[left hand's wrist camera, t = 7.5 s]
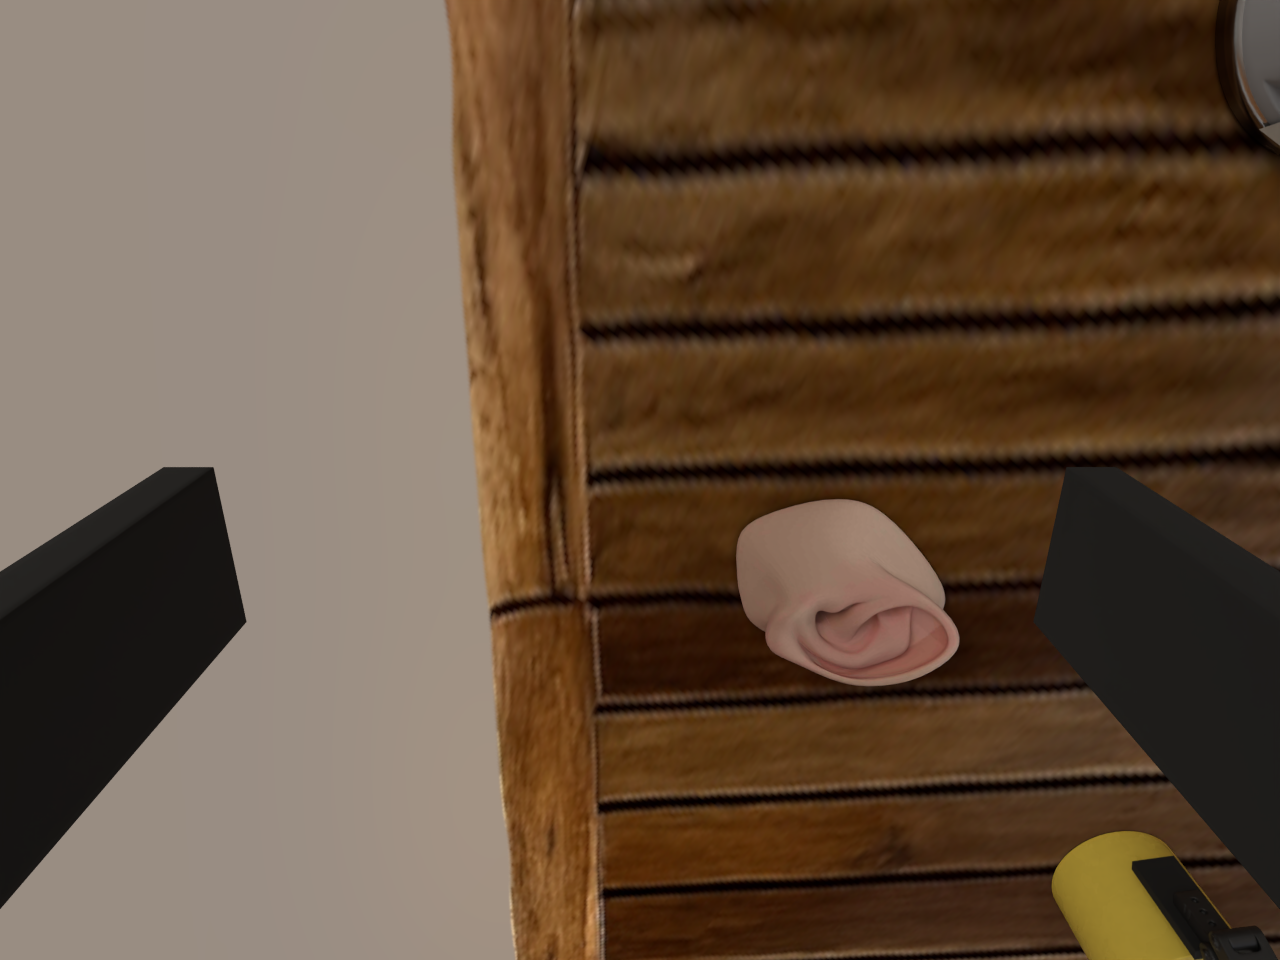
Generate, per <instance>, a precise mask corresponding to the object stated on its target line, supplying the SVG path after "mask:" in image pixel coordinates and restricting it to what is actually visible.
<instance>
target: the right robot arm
mask: <svg viewBox="0 0 1280 960" xmlns="http://www.w3.org/2000/svg"><path fill="white" fill-rule="evenodd" d="M1132 871H1133V872H1134V874H1135V875H1136V876H1137V878H1138V879H1139V881H1140V882H1141V884H1142V885H1143V886H1144V888H1145V889H1146V891H1147V892H1148V894H1149V895H1150V897H1151V898H1152V899H1153V901H1154V902H1155V904H1156V905H1157V907H1158V908H1159V909H1160V911H1161V912H1162V914H1163V915H1164V917H1165V918H1166V920H1167V921H1168V922H1169V924H1170V925H1171V927H1172V928H1173V930H1174V931H1175V932H1176V934H1177V935H1178V937H1179V938H1180V940H1181V941H1182V942H1183V944H1184V945H1185V947H1186V948H1187V950H1188V951H1189V953H1190V954H1191V955H1192V957H1193V958H1194V960H1197V959H1203V960H1278V959H1277V957H1276V955H1275V954H1274V952H1273V950H1272V948H1271V947H1270V945H1269V943H1268V941H1267V939H1266V938H1265V936H1264V934H1263V933H1262V931H1261V930H1260V929H1259V928H1258V927H1257V926H1249V927H1239V928H1232V929H1230V928H1229V927H1228V925H1227V924H1226V923H1225V921H1224V920H1223V919H1222V917H1221V916H1220V915H1219V914H1218V912H1217V911H1216V910H1215V908H1214V907H1213V906H1212V904H1211V903H1210V902H1209V901H1208V899H1207V898H1206V897H1205V895H1204V894H1203V893H1202V892H1201V890H1200V889H1199V888H1198V886H1197V885H1196V884H1195V882H1194V881H1193V880H1192V879H1191V877H1190V876H1189V875H1188V873H1187V872H1186V871H1185V869H1184V868H1183V867H1182V866H1181V864H1180V863H1179V862H1178V860H1177V859H1176V858H1175V856H1174V855H1173V856H1166V857H1159V858H1152V859H1144V860H1137V861H1132Z"/></svg>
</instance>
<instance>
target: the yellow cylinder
mask: <svg viewBox="0 0 1280 960" xmlns="http://www.w3.org/2000/svg"><path fill="white" fill-rule="evenodd" d="M1173 855H1174V856H1175V858H1176V859H1177V860H1178V862H1179V863H1180V864H1181V866H1182V867H1183V868H1184V869H1185V871H1186V872H1187V873H1188V875H1189V876H1190V877H1191V879H1192V880H1193V881H1194V882H1195V884H1196V885H1197V886H1198V888H1199V889H1200V890H1201V892H1202V893H1203V894H1204V895H1205V897H1206V898H1207V899H1208V901H1209V902H1210V903H1211V904H1212V906H1213V907H1214V908H1215V910H1216V911H1217V912H1218V914H1219V915H1220V916H1221V917H1222V919H1223V920H1224V921H1225V923H1226V924H1227V925H1228V927H1229V928H1230V929H1232V928H1231V927H1230V925H1229V924H1228V923H1227V921H1226V920H1225V919H1224V917H1223V916H1222V915H1221V914H1220V912H1219V911H1218V910H1217V908H1216V907H1215V906H1214V905H1213V903H1212V902H1211V901H1210V899H1209V898H1208V897H1207V895H1206V894H1205V893H1204V892H1203V890H1202V889H1201V888H1200V886H1199V885H1198V884H1197V883H1196V881H1195V880H1194V879H1193V877H1192V876H1191V875H1190V873H1189V872H1188V871H1187V870H1186V868H1185V867H1184V866H1183V864H1182V863H1181V862H1180V861H1179V859H1178V858H1177V857H1176V855H1175V854H1174V853H1173V851H1172V850H1171V849H1170V848H1169V847H1168V846H1167V845H1166V844H1165V843H1164V842H1163V841H1161V840H1160V839H1158V838H1156V837H1154V836H1152V835H1149V834H1146V833H1142V832H1135V831H1119V832H1111V833H1106V834H1103V835H1099V836H1097V837H1094V838H1091V839H1089V840H1087V841H1085V842H1083V843H1082V844H1080V845H1078V846H1077V847H1075V848H1074V849H1073V850H1071V851H1070V852H1069V853H1068V854H1067V855H1066V856H1065V857H1064V858H1063V859H1062V861H1061V862H1060V863H1059V865H1058V866H1057V868H1056V870H1055V872H1054V875H1053V879H1052V893H1053V896H1054V899H1055V901H1056V903H1057V904H1058V906H1059V908H1060V910H1061V912H1062V913H1063V915H1064V917H1065V919H1066V920H1067V922H1068V924H1069V926H1070V928H1071V929H1072V931H1073V933H1074V935H1075V936H1076V938H1077V940H1078V942H1079V944H1080V945H1081V947H1082V949H1083V951H1084V952H1085V954H1086V956H1087V958H1088V960H1194V958H1193V957H1192V955H1191V954H1190V953H1189V951H1188V950H1187V948H1186V947H1185V945H1184V944H1183V942H1182V941H1181V940H1180V938H1179V937H1178V935H1177V934H1176V932H1175V931H1174V930H1173V928H1172V927H1171V925H1170V924H1169V922H1168V921H1167V920H1166V918H1165V917H1164V915H1163V914H1162V912H1161V911H1160V909H1159V908H1158V907H1157V905H1156V904H1155V902H1154V901H1153V899H1152V898H1151V897H1150V895H1149V894H1148V892H1147V891H1146V889H1145V888H1144V886H1143V885H1142V884H1141V882H1140V881H1139V879H1138V878H1137V876H1136V875H1135V874H1134V872H1133V871H1132V861H1137V860H1144V859H1152V858H1159V857H1166V856H1173ZM1197 960H1203V959H1197Z"/></svg>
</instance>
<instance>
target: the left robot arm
mask: <svg viewBox="0 0 1280 960" xmlns="http://www.w3.org/2000/svg"><path fill="white" fill-rule="evenodd" d="M1215 48H1216V62H1217V68H1218V73H1219V78H1220V82H1221V85H1222V89H1223V92H1224V94H1225V97H1226V99H1227V102H1228V104H1229V106H1230V108H1231V110H1232V111H1233V113H1234V115H1235V117H1236V118H1237V120H1238V121H1239V122H1240V124H1241V125H1242V126H1243V128H1244V129H1245V130H1246V131H1247V132H1248V133H1249V134H1250V135H1251V136H1252V137H1253V138H1254V139H1255V140H1256V141H1258V142H1259V143H1260V144H1261V145H1263V146H1264V147H1266V148H1267V149H1269V150H1271V151H1272V152H1274V153H1276V154H1278V155H1280V0H1220V2H1219V7H1218V13H1217V21H1216V37H1215ZM245 623H246V618H245V613H244V608H243V603H242V599H241V594H240V590H239V585H238V580H237V575H236V571H235V566H234V561H233V557H232V552H231V547H230V543H229V538H228V533H227V528H226V524H225V519H224V514H223V510H222V505H221V500H220V496H219V491H218V486H217V482H216V477H215V472H214V468H213V467H163V468H162V469H160V470H159V471H157V472H156V473H154V474H152V475H151V476H149V477H148V478H146V479H145V480H143V481H141V482H140V483H138V484H137V485H135V486H134V487H132V488H131V489H129V490H127V491H126V492H124V493H123V494H121V495H120V496H118V497H117V498H115V499H113V500H112V501H110V502H109V503H107V504H106V505H104V506H103V507H101V508H99V509H98V510H96V511H95V512H93V513H91V514H90V515H88V516H87V517H85V518H84V519H82V520H80V521H79V522H77V523H76V524H74V525H73V526H71V527H70V528H68V529H66V530H65V531H63V532H62V533H60V534H59V535H57V536H55V537H54V538H52V539H51V540H49V541H48V542H46V543H45V544H43V545H41V546H40V547H38V548H37V549H35V550H34V551H32V552H30V553H29V554H27V555H26V556H24V557H23V558H21V559H19V560H18V561H16V562H15V563H13V564H12V565H10V566H9V567H7V568H5V569H4V570H2V571H1V572H0V909H1V907H2V906H3V905H4V904H5V903H6V902H7V900H8V899H9V898H10V897H11V896H12V895H13V893H14V892H15V891H16V890H17V889H18V888H19V886H20V885H21V884H22V883H23V882H24V881H25V879H26V878H27V877H28V876H29V875H30V874H31V872H32V871H33V870H34V869H35V868H36V867H37V866H38V864H39V863H40V862H41V861H42V860H43V858H44V857H45V856H46V855H47V854H48V853H49V852H50V850H51V849H52V848H53V847H54V846H55V845H56V843H57V842H58V841H59V840H60V839H61V837H62V836H63V835H64V834H65V833H66V832H67V831H68V829H69V828H70V827H71V826H72V825H73V824H74V822H75V821H76V820H77V819H78V818H79V816H80V815H81V814H82V813H83V812H84V811H85V809H86V808H87V807H88V806H89V805H90V804H91V803H92V801H93V800H94V799H95V798H96V797H97V796H98V794H99V793H100V792H101V791H102V790H103V789H104V787H105V786H106V785H107V784H108V783H109V782H110V780H111V779H112V778H113V777H114V776H115V774H116V773H117V772H118V771H119V770H120V769H121V768H122V766H123V765H124V764H125V763H126V762H127V761H128V759H129V758H130V757H131V756H132V755H133V754H134V752H135V751H136V750H137V749H138V748H139V747H140V745H141V744H142V743H143V742H144V741H145V740H146V738H147V737H148V736H149V735H150V734H151V732H152V731H153V730H154V729H155V728H156V727H157V726H158V724H159V723H160V722H161V721H162V720H163V719H164V717H165V716H166V715H167V714H168V713H169V712H170V710H171V709H172V708H173V707H174V706H175V705H176V703H177V702H178V701H179V700H180V699H181V698H182V696H183V695H184V694H185V693H186V692H187V691H188V689H189V688H190V687H191V686H192V685H193V684H194V682H195V681H196V680H197V679H198V678H199V677H200V675H201V674H202V673H203V672H204V671H205V670H206V668H207V667H208V666H209V665H210V664H211V663H212V661H213V660H214V659H215V658H216V657H217V655H218V654H219V653H220V652H221V651H222V650H223V649H224V647H225V646H226V645H227V644H228V643H229V642H230V640H231V639H232V638H233V637H234V636H235V635H236V633H237V632H238V631H239V630H240V629H241V628H242V626H243V625H244V624H245ZM1034 623H1035V624H1036V625H1037V626H1038V628H1039V629H1040V630H1041V631H1042V632H1043V633H1044V635H1045V636H1046V637H1047V638H1048V639H1049V640H1050V642H1051V643H1052V644H1053V645H1054V646H1055V647H1056V649H1057V650H1058V651H1059V652H1060V653H1061V654H1062V656H1063V657H1064V658H1065V659H1066V660H1067V661H1068V663H1069V664H1070V665H1071V666H1072V667H1073V668H1074V670H1075V671H1076V672H1077V673H1078V674H1079V675H1080V677H1081V678H1082V679H1083V680H1084V681H1085V682H1086V684H1087V685H1088V686H1089V687H1090V688H1091V689H1092V691H1093V692H1094V693H1095V694H1096V695H1097V696H1098V698H1099V699H1100V700H1101V701H1102V702H1103V703H1104V705H1105V706H1106V707H1107V708H1108V709H1109V710H1110V712H1111V713H1112V714H1113V715H1114V716H1115V717H1116V719H1117V720H1118V721H1119V722H1120V723H1121V724H1122V726H1123V727H1124V728H1125V729H1126V730H1127V731H1128V733H1129V734H1130V735H1131V736H1132V737H1133V738H1134V740H1135V741H1136V742H1137V743H1138V744H1139V745H1140V747H1141V748H1142V749H1143V750H1144V751H1145V752H1146V754H1147V755H1148V756H1149V757H1150V758H1151V759H1152V761H1153V762H1154V763H1155V764H1156V765H1157V766H1158V768H1159V769H1160V770H1161V771H1162V772H1163V773H1164V775H1165V776H1166V777H1167V778H1168V779H1169V780H1170V782H1171V783H1172V784H1173V785H1174V786H1175V787H1176V789H1177V790H1178V791H1179V792H1180V793H1181V794H1182V796H1183V797H1184V798H1185V799H1186V800H1187V801H1188V803H1189V804H1190V805H1191V806H1192V807H1193V808H1194V810H1195V811H1196V812H1197V813H1198V814H1199V815H1200V817H1201V818H1202V819H1203V820H1204V821H1205V822H1206V824H1207V825H1208V826H1209V827H1210V828H1211V829H1212V831H1213V832H1214V833H1215V834H1216V835H1217V836H1218V838H1219V839H1220V840H1221V841H1222V842H1223V843H1224V845H1225V846H1226V847H1227V848H1228V849H1229V850H1230V852H1231V853H1232V854H1233V855H1234V856H1235V857H1236V859H1237V860H1238V861H1239V862H1240V863H1241V864H1242V866H1243V867H1244V868H1245V869H1246V870H1247V871H1248V873H1249V874H1250V875H1251V876H1252V877H1253V878H1254V879H1255V881H1256V882H1257V883H1258V884H1259V885H1260V886H1261V888H1262V889H1263V890H1264V891H1265V892H1266V893H1267V895H1268V896H1269V897H1270V898H1271V899H1272V900H1273V902H1274V903H1275V904H1276V905H1277V906H1278V907H1279V909H1280V572H1279V571H1278V570H1276V569H1275V568H1273V567H1271V566H1270V565H1268V564H1267V563H1265V562H1264V561H1262V560H1261V559H1259V558H1257V557H1256V556H1254V555H1253V554H1251V553H1250V552H1248V551H1246V550H1245V549H1243V548H1242V547H1240V546H1239V545H1237V544H1235V543H1234V542H1232V541H1231V540H1229V539H1228V538H1226V537H1225V536H1223V535H1221V534H1220V533H1218V532H1217V531H1215V530H1214V529H1212V528H1210V527H1209V526H1207V525H1206V524H1204V523H1203V522H1201V521H1200V520H1198V519H1196V518H1195V517H1193V516H1192V515H1190V514H1189V513H1187V512H1185V511H1184V510H1182V509H1181V508H1179V507H1178V506H1176V505H1174V504H1173V503H1171V502H1170V501H1168V500H1167V499H1165V498H1164V497H1162V496H1160V495H1159V494H1157V493H1156V492H1154V491H1153V490H1151V489H1149V488H1148V487H1146V486H1145V485H1143V484H1142V483H1140V482H1139V481H1137V480H1135V479H1134V478H1132V477H1131V476H1129V475H1128V474H1126V473H1124V472H1123V471H1121V470H1120V469H1118V468H1117V467H1067V468H1066V472H1065V477H1064V482H1063V486H1062V491H1061V496H1060V500H1059V505H1058V510H1057V514H1056V519H1055V524H1054V528H1053V533H1052V538H1051V543H1050V547H1049V552H1048V557H1047V561H1046V566H1045V571H1044V575H1043V580H1042V585H1041V589H1040V594H1039V599H1038V603H1037V608H1036V613H1035V617H1034Z"/></svg>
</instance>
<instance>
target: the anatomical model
mask: <svg viewBox="0 0 1280 960" xmlns="http://www.w3.org/2000/svg"><path fill="white" fill-rule="evenodd" d="M736 560H737V579H738V588H739V592H740V596H741V600H742V604H743V608H744V611H745V613H746V615H747V617H748V618H749V620H750V621H751V622H752V623H753V624H754V625H756V626H757V627H758V628H760V629H761V630H763V631H765V632H766V642H767V644H768V646H769V648H770V649H771V650H772V651H773V652H774V653H775V654H777V655H778V656H780V657H782V658H785V659H787V660H789V661H791V662H794V663H796V664H798V665H800V666H802V667H804V668H807V669H809V670H811V671H813V672H815V673H817V674H820V675H822V676H825V677H827V678H829V679H832V680H835V681H838V682H842V683H846V684H851V685H858V686H882V685H890V684H897V683H902V682H906V681H910V680H913V679H916V678H918V677H921V676H923V675H925V674H927V673H929V672H931V671H933V670H934V669H936V668H938V667H940V666H941V665H942V664H944V663H945V662H946V661H948V660H949V659H950V658H951V657H952V656H953V654H954V653H955V652H956V650H957V648H958V646H959V634H958V630H957V628H956V626H955V624H954V623H953V621H952V620H951V618H950V617H949V616H948V615H947V614H946V613H945V611H944V610H943V607H944V604H945V594H944V589H943V587H942V584H941V582H940V580H939V578H938V576H937V575H936V573H935V572H934V570H933V569H932V567H931V566H930V564H929V563H928V561H927V560H926V559H925V557H924V556H923V555H922V553H921V552H920V551H919V550H918V549H917V547H916V546H915V545H914V544H913V543H912V541H911V540H910V539H909V538H908V537H907V536H906V535H905V533H904V532H903V531H902V530H901V529H900V528H899V527H898V526H897V525H896V524H895V523H894V522H892V521H891V520H890V519H889V518H888V517H887V516H886V515H884V514H883V513H882V512H880V511H879V510H877V509H875V508H874V507H872V506H870V505H868V504H865V503H862V502H859V501H854V500H847V499H833V500H820V501H814V502H808V503H804V504H800V505H796V506H791V507H788V508H785V509H782V510H778V511H775V512H773V513H770V514H767V515H765V516H762V517H760V518H758V519H756V520H754V521H753V522H751V523H750V524H749V525H747V526H746V527H745V528H744V530H743V531H742V532H741V534H740V536H739V539H738V543H737V554H736Z"/></svg>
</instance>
